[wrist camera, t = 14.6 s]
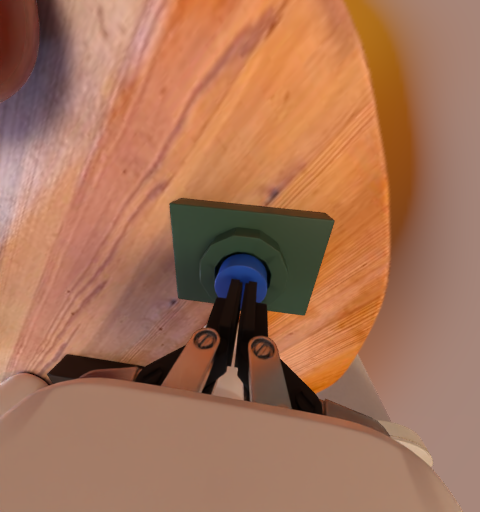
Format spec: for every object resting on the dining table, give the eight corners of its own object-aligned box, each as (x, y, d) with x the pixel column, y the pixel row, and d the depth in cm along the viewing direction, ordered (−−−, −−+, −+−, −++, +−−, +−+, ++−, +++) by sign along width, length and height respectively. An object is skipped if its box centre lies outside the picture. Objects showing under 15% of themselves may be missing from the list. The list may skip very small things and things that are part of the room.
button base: (326, 212, 15) (345, 228, 12) (300, 300, 19) (309, 331, 16) (180, 197, 16) (156, 208, 12) (185, 285, 20) (169, 312, 16)
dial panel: (144, 366, 27) (130, 389, 25) (153, 403, 32) (142, 426, 29) (66, 354, 28) (45, 375, 25) (86, 391, 33) (69, 413, 30)
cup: (49, 364, 30) (-17, 427, 23) (79, 393, 33) (29, 456, 26) (1, 368, 32) (-73, 427, 25) (33, 395, 35) (-24, 454, 28)
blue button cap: (270, 256, 13) (271, 269, 12) (263, 296, 15) (263, 312, 14) (220, 250, 14) (214, 262, 12) (218, 290, 15) (213, 305, 14)
